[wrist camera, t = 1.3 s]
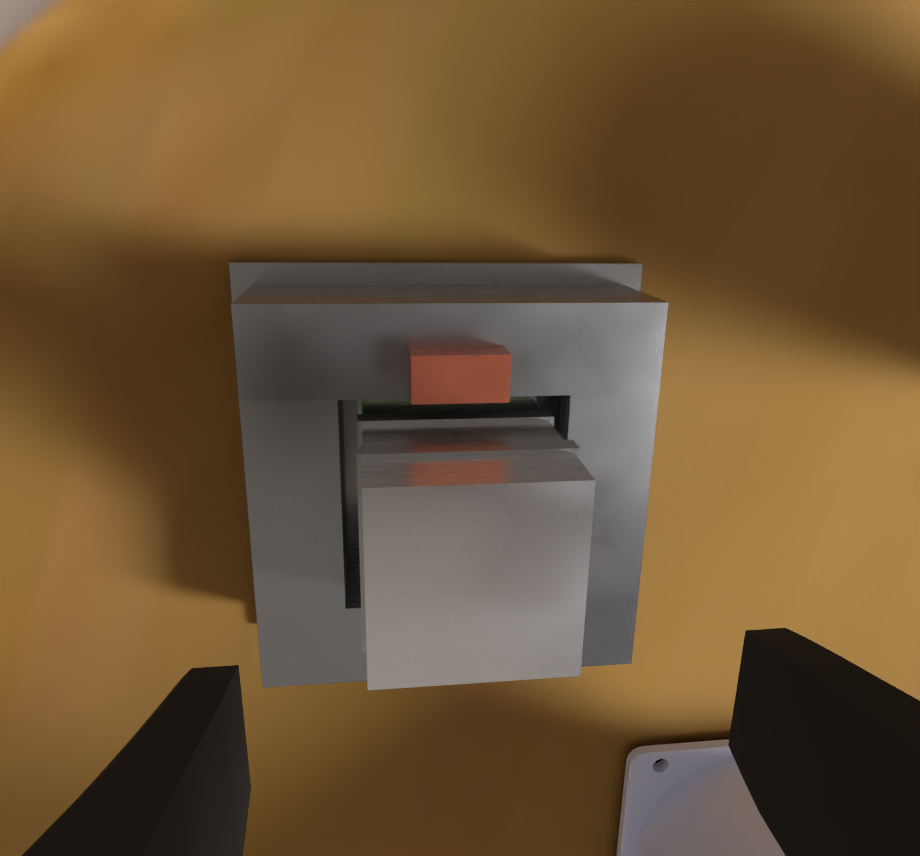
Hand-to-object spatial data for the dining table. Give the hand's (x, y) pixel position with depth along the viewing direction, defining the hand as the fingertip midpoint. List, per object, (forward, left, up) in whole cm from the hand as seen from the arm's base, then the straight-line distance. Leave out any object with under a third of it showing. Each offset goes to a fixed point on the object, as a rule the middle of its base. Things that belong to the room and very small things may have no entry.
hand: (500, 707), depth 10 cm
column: (0, 0, -10) cm, 10 cm away
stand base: (0, 0, -10) cm, 10 cm away
